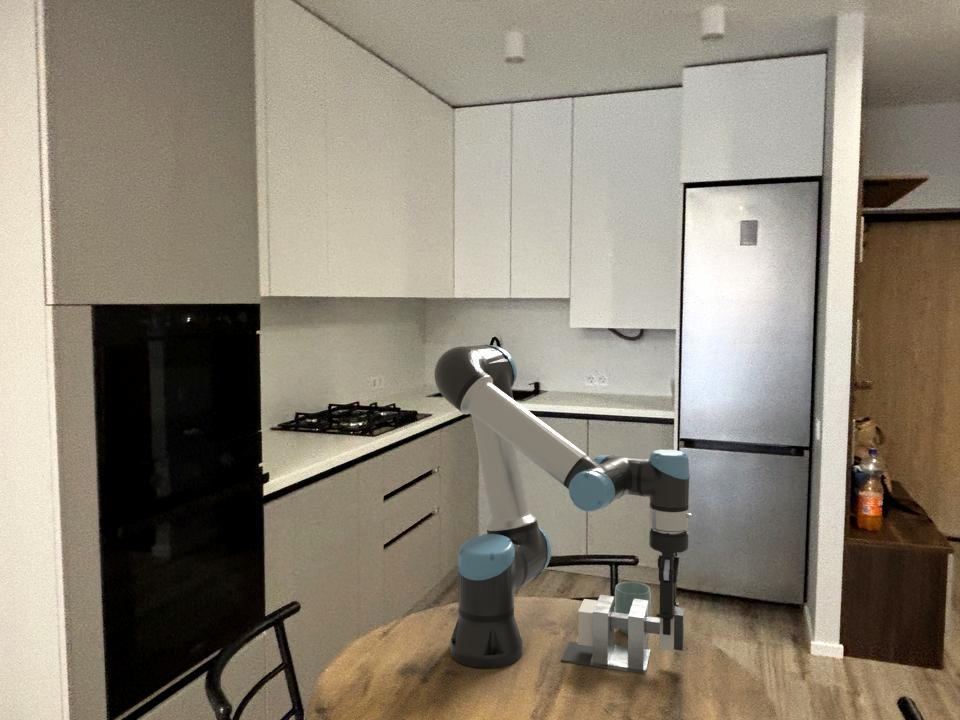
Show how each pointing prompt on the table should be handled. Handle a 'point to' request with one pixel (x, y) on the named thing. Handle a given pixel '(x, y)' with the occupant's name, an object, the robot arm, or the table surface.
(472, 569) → the robot arm
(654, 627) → the shaft
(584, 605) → the block
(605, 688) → the table surface
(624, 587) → the cup
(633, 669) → the bearing block
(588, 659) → the mat
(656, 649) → the table surface
